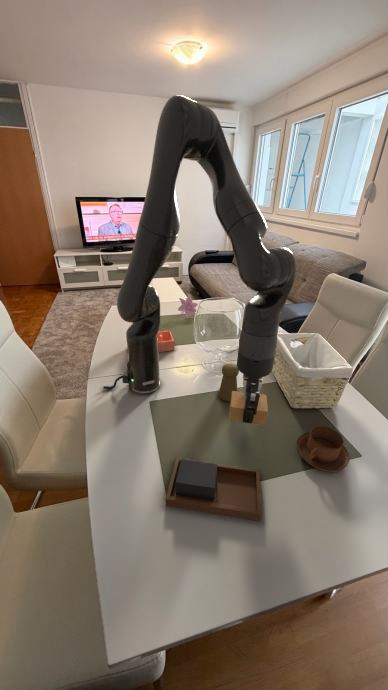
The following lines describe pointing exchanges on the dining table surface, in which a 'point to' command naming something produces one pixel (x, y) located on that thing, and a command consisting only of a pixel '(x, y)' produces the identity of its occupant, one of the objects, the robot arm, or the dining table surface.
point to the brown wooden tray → (224, 493)
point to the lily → (187, 306)
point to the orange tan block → (238, 409)
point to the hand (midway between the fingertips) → (247, 412)
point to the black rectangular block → (196, 479)
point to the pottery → (165, 341)
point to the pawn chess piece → (228, 381)
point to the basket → (310, 371)
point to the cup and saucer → (323, 449)
